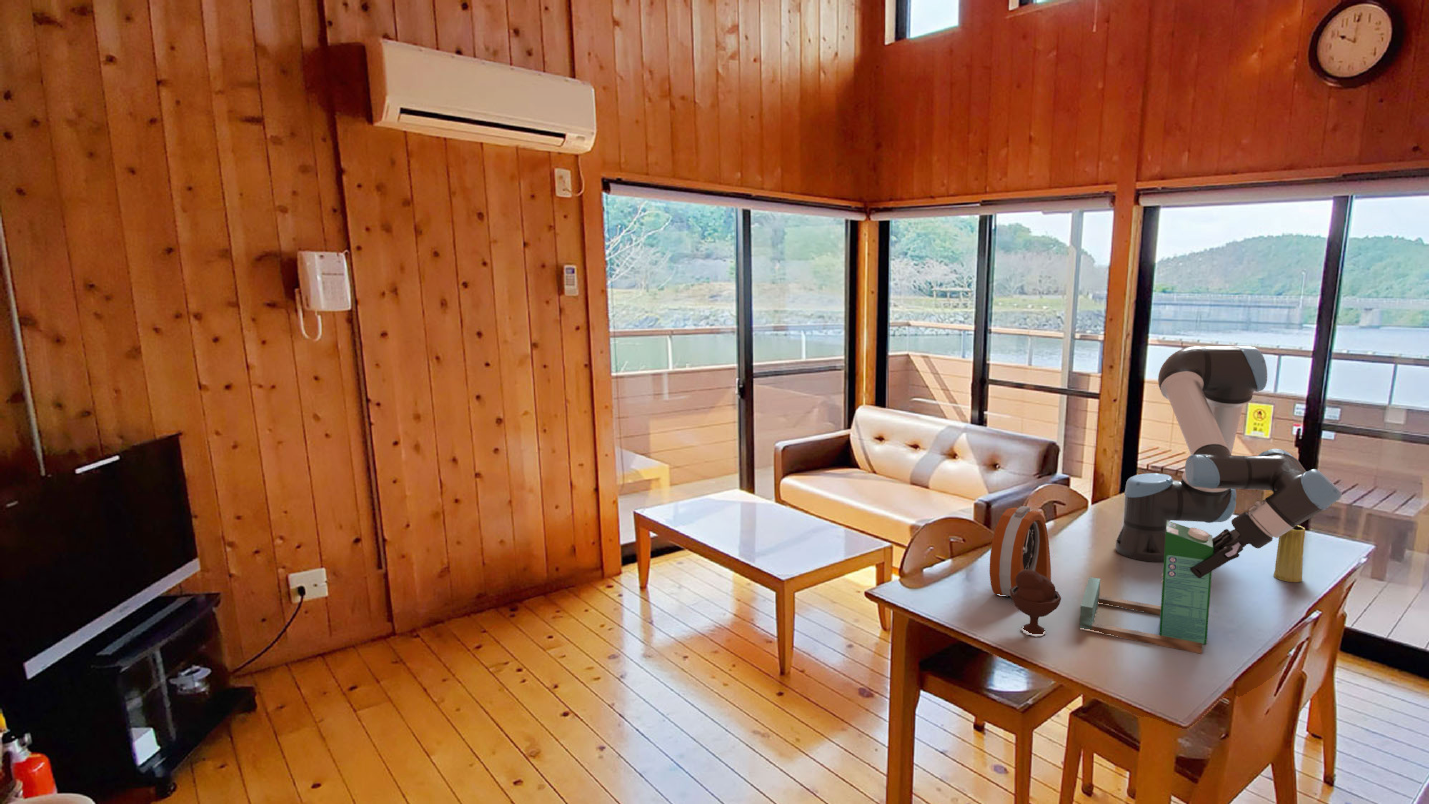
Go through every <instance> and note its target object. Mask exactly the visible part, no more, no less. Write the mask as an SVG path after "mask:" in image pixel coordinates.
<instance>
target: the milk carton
mask: <svg viewBox="0 0 1429 804" xmlns="http://www.w3.org/2000/svg"><path fill="white" fill-rule="evenodd" d="M1213 538H1214V537H1213V535H1212V534H1209V533H1208V532H1207V531H1205V530H1203V529H1200V528H1197V527H1188V526H1185V525H1182V524H1179V523H1176V522H1173V521H1166V536H1165V552H1164V561H1163V569H1162V571H1163V572H1162V574H1163V577H1162V581H1163V584H1162V583H1161V584H1162V585H1161V586H1162V587H1161V599H1160V600H1161V601H1160V602H1161V603H1160V606H1161V615H1159V616H1160V619H1159V632H1158V633H1159V634H1158V635H1161V636H1166V637H1171V638H1176V639H1182V640H1187V641H1192V642H1198V643H1202V645H1207V642H1208V630H1209V629H1208V628H1209V616H1210V614H1209V613H1210V602H1211V589H1212V576H1213V575H1212V574H1213V571H1211V572H1210V573H1208V574H1206V575H1204V576H1203V577H1201V578H1198V577H1197V576H1195V575H1194V574H1193V573H1192V572H1191V570H1190V568H1191V567H1193V566H1195V565H1197V564H1198V563H1200V562H1202V561H1203V560H1205V559H1206V558H1208V557H1210V556H1211V555H1213V550H1214V547H1213Z"/></svg>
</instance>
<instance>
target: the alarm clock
mask: <svg viewBox="0 0 1429 804" xmlns="http://www.w3.org/2000/svg"><path fill="white" fill-rule="evenodd" d="M996 524H997V525H996V527H995V530H994V534H993V538H992V541H991V546H990V548H991V549H990V556H989V580H990V586H991V590H992V592H993V593H995V594H1000V595H1007V596H1006V597H1008V596H1011V595H1010V589H1011V588H1012V587H1014V586H1016V585H1017V584H1016V580H1015V579H1016V576H1017V575H1018V573H1019V572H1020V571H1022V570H1025V569H1030V570H1033V571H1036V572H1038V573H1039V574H1040V575H1043V576H1045V577H1047V578H1048V579H1049V580H1050V581H1051V582H1052V565H1051V552H1050V541H1049V534H1048V529H1047V524H1046V520H1045V517H1044V516H1043V515H1042V513H1041V512H1040V511H1036V510H1032V511H1031V507H1030V506H1027V505H1021V506H1019V507H1011V508H1010V507H1009V508H1007V509H1005V511H1004V512H1003V513H1002V515H1001V516H1000V518H999V519H998V523H996ZM995 594H994V595H995Z"/></svg>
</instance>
